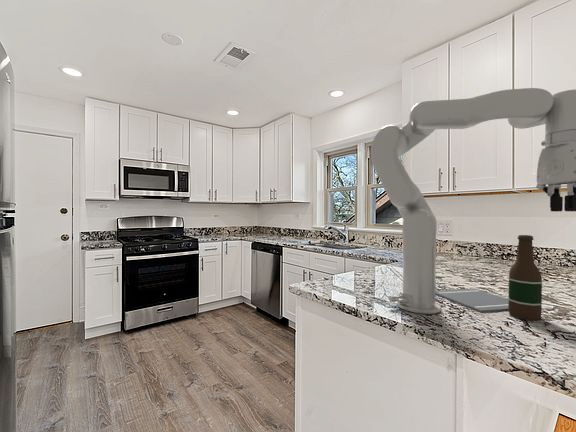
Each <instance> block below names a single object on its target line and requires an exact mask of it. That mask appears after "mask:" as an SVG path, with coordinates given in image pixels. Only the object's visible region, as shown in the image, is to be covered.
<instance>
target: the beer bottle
mask: <svg viewBox="0 0 576 432" xmlns="http://www.w3.org/2000/svg"><path fill="white" fill-rule="evenodd" d="M517 240H518V245H517V254H516V255H517V256H516V259H515V260H516V261H515V262H514V263H513V264H512V265H511V267H510V269H509V272H508V297H507V299H508V308H509V311H508V314H509V315H510V316H511V317H514V318H516V319H519V320H525V321H530V322H534V321H535V322H536V321H541V320H542V309H543V308H542V305H543V302H542V301H543V298H542V297H543V290H542V289H543V279H542V274H541V272H540V269H539V268H538V266H537V265H536V263H535V261H534V248H533V241H534V240H535V239H534V236H532V235H528V234H520V235H518V236H517Z"/></svg>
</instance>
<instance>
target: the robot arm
mask: <svg viewBox="0 0 576 432" xmlns="http://www.w3.org/2000/svg"><path fill="white" fill-rule="evenodd" d="M503 119H505V120H506V119H507V121H508V124H509V126H511V127H513V128H515V129H520V130H521V129H522V130H523V129H529V128H530V129H531V128H534V127H538V126H544V125H545V135H544V137H545V138H544V140H543V141H541V142H540V143H541V146H542V147H544V148H541V150H540V152H539V157H538V161H537V168H536V169H537V170H536V183H537V184H536V189H539V190H541V191H543V192H544V193H545V194H547V197H549V200H550V201H549V208H550V212H563V207H564V212H576V89H568V90H567V89H566V90H563V91H560V92H557V93H554V94H552V93H551V92H549V91H548V90H547V89H543V88H538V87H529V88H528V87H525V88H512V89H510V88H509V89H504V90H498V91H493V92H490V93H484V94H480V95H477V96H473V97H470V98H468V97H467V98H458V99H442V100H441V99H438V100H425V101H420V102H418V103H416V104H415V105H413V107H412V108H411V110H410V112H409V121H408V122H407V123H405V124H404V125H403V126H402V127H399V126H398V125H395V124H388V125H385V126H383V127H381V128H380V129H379V130H378V132H377V133H376V134H375V136H374V138H373V139H372V141H371V145H370V146H371V147H370V159H371V160H370V161H371V163H372V167H373V168H374V170H375V173H376V174H377V177H378V178H379V180H380V183H381V185H382V186H383V188H384V191H385V192H386V194H387V198H388V200H389V201H390V203H391V204H392V205H393V206H394V207H395V208H396V209H397V210H398V212H399V214H400V216H401V218H402V220H403V221H402V291H399V294H397V295H389V296H388V301H389V302H390V303H393V302H394V303H395V302H397V306H398V307H399V309H402V310H404V311H407V312H410V313H416V314H421V315H422V314H424V315H431V314H432V315H433V314H438V313H440V312H441V310H442V307H441V305H440V304H439V303H436V294H435V291H437V290H436V288H437V287H436V285H437V284H436V280H437V279H436V278H437V274H436V273H437V256H436V255H437V226H438V224H437V223H438V222H437V218H436V216H435V213H434V212H433V211H432V209H431V208H430V206H429V204H428V202H427V200H426V198H425V197H424V195H423V194H422V192H421V190H420V188H419V187H418V186H417V184H415V182H414V181H413V179H411V177H410V176H409V174H408V171H406V168H405V165H403V164H404V163H402V161H401V158H400V157H402V156H403V155H405V154H407V153H408V152H409V151H411V150H412V149H413V148H415V146H417V145H419V144H420V143H422V142H423V141H424V140H425V139H426V138H428V137H429V136H431V134H432V133H433V132H435V130H464V129H465V130H466V129H469V128H473V127H475V126H476V125H479V124H482V123H484V122H489V121H494V120H495V121H496V120H503ZM562 185H566V188H567V189H566V192H567V193H566V194H567V195H565V196H564V198H563V196H561V191H562ZM563 201H564V202H563ZM563 203H564V204H563ZM563 205H564V206H563Z"/></svg>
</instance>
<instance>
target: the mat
mask: <svg viewBox="0 0 576 432" xmlns="http://www.w3.org/2000/svg"><path fill="white" fill-rule="evenodd" d="M435 296H439V297H441V298H443V299H446V300H449V301H450V302H453V303H456V304H458V305H461V306H463V307H465V308H468V309H470V310H474V311H476V312H479V313H480V314H481V313H493V312H505V311H507V312H509V308H508V297H507V298H506V297H503V296H500V295H498V294H493V293H490V292H487V291H483V290H482V289H481V290H480V289H478V288H464V289H463V288H459V289H458V288H457V289H443V290H441V289H440V290H435Z"/></svg>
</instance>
